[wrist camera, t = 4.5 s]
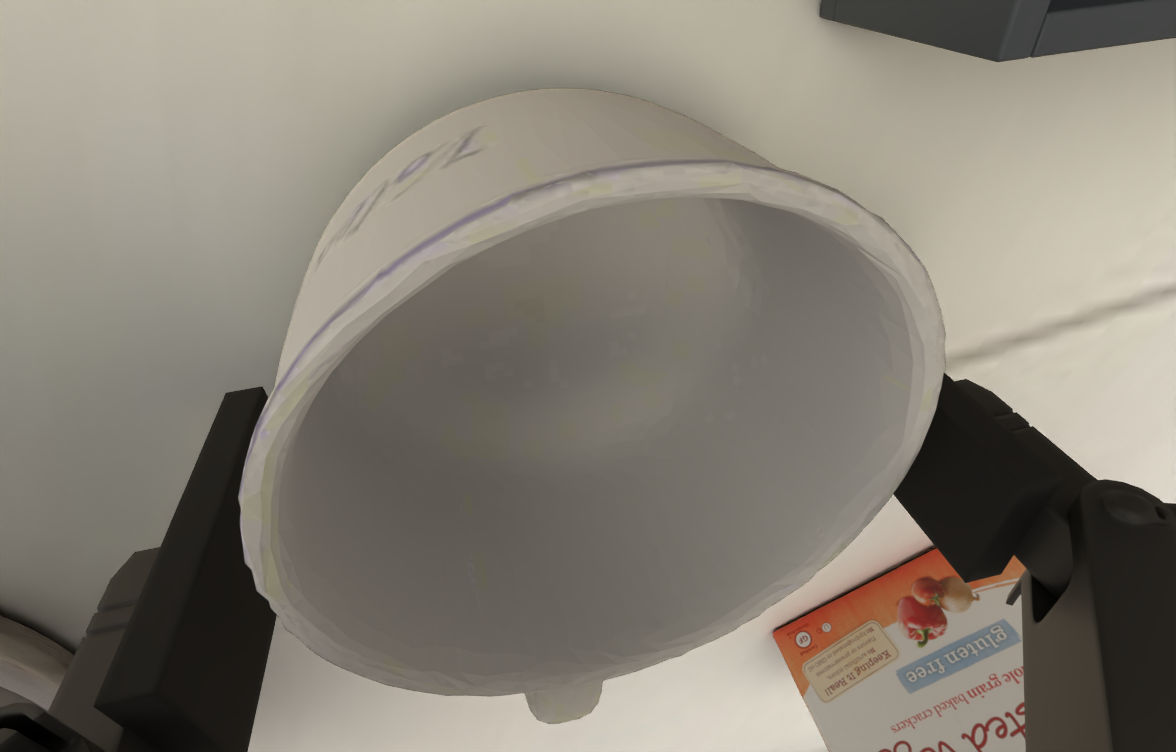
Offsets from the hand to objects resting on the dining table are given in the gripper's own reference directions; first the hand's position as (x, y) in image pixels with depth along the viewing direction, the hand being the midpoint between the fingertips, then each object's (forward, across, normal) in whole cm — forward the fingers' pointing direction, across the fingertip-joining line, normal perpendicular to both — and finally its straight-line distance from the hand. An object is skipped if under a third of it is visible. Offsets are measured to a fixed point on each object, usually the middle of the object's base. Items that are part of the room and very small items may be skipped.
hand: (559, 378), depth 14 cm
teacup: (+2, 0, 0) cm, 2 cm away
